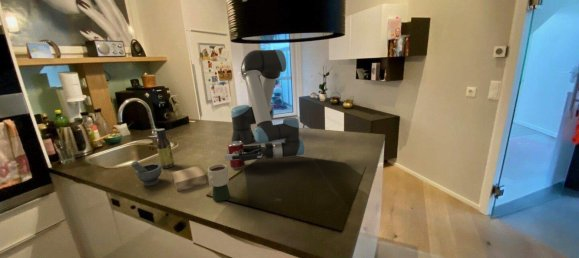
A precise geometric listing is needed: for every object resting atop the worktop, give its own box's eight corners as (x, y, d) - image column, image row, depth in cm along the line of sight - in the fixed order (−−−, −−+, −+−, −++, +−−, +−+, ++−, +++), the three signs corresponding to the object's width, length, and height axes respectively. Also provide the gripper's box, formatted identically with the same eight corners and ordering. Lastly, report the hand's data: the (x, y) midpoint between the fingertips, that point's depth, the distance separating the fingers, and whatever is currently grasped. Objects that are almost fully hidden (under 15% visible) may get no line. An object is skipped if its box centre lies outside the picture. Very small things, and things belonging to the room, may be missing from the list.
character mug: (222, 190, 98) (218, 160, 94) (237, 192, 95) (233, 162, 92) (204, 204, 88) (199, 172, 84) (221, 207, 85) (216, 174, 82)
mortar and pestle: (155, 175, 113) (150, 152, 110) (168, 179, 109) (163, 155, 106) (131, 186, 104) (124, 161, 101) (143, 191, 100) (137, 165, 96)
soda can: (227, 166, 118) (224, 143, 115) (239, 161, 123) (237, 139, 120) (236, 170, 113) (233, 146, 110) (248, 165, 119) (245, 142, 115)
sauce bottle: (175, 166, 122) (168, 129, 117) (161, 170, 119) (153, 132, 114) (173, 162, 128) (166, 127, 122) (160, 166, 124) (152, 129, 119)
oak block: (200, 173, 114) (199, 165, 113) (206, 182, 104) (205, 174, 103) (173, 180, 108) (171, 172, 107) (177, 191, 98) (175, 182, 97)
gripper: (275, 165, 110) (224, 170, 107) (272, 150, 129) (229, 154, 127) (274, 150, 108) (222, 155, 105) (271, 137, 127) (227, 140, 125)
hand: (226, 154), depth 116 cm, fingers closed on soda can, 7 cm apart
